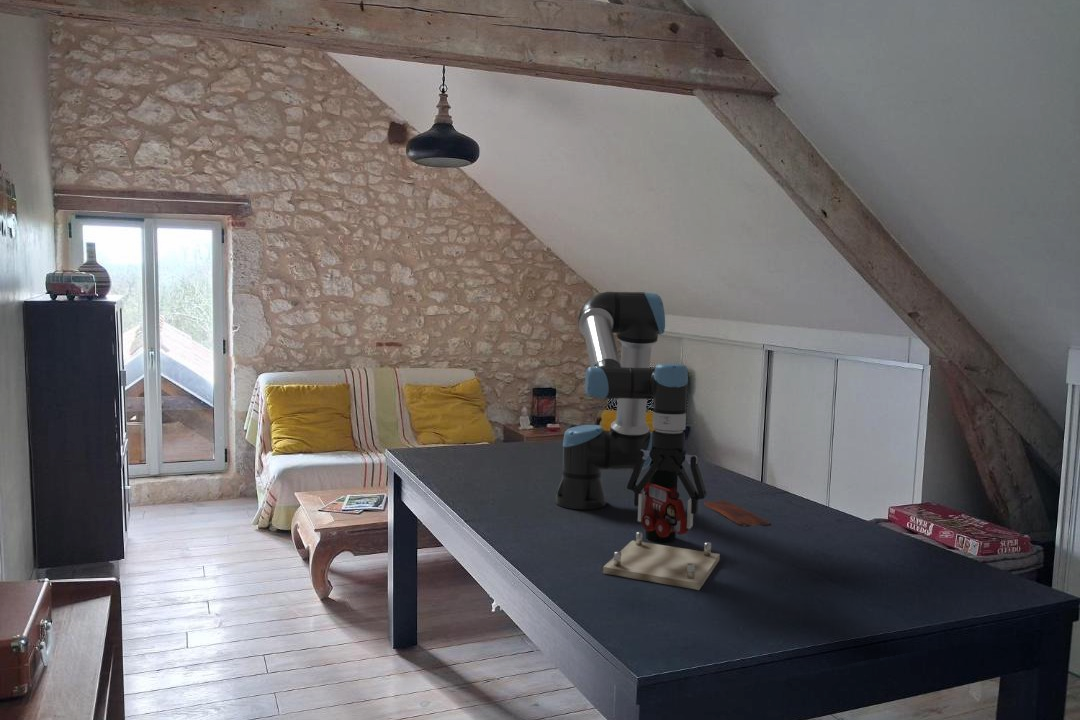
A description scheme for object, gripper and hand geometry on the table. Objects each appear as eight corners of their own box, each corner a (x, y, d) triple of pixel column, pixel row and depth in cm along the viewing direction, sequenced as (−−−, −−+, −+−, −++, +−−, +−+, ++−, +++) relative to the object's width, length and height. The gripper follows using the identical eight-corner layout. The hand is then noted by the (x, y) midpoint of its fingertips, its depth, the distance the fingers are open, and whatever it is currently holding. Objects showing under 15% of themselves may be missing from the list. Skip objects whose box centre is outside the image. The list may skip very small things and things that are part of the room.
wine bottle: (632, 537, 212) (636, 423, 209) (662, 532, 217) (667, 421, 214) (651, 545, 205) (655, 428, 202) (682, 540, 210) (686, 426, 208)
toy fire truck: (670, 541, 182) (672, 496, 181) (637, 527, 193) (639, 484, 192) (694, 538, 185) (696, 493, 184) (660, 523, 196) (662, 481, 195)
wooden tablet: (772, 527, 227) (773, 521, 227) (740, 528, 224) (740, 523, 224) (728, 502, 252) (728, 496, 252) (698, 503, 250) (699, 498, 250)
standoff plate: (603, 573, 184) (603, 553, 184) (631, 546, 204) (632, 528, 204) (699, 590, 175) (700, 569, 175) (719, 560, 196) (720, 541, 195)
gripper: (615, 428, 188) (612, 520, 190) (716, 437, 179) (711, 535, 181) (625, 423, 195) (621, 513, 197) (722, 432, 186) (718, 526, 188)
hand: (664, 523), depth 189 cm, fingers closed on toy fire truck, 11 cm apart
